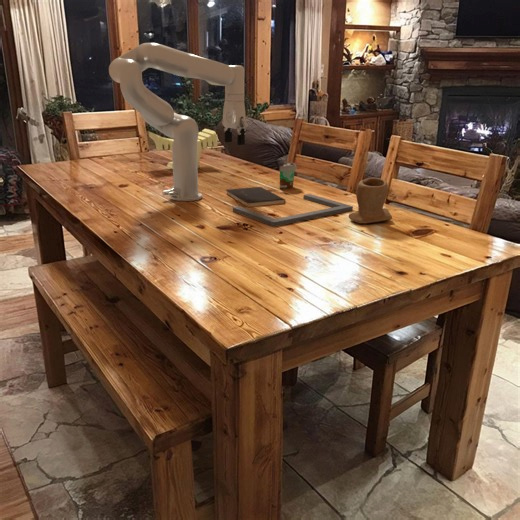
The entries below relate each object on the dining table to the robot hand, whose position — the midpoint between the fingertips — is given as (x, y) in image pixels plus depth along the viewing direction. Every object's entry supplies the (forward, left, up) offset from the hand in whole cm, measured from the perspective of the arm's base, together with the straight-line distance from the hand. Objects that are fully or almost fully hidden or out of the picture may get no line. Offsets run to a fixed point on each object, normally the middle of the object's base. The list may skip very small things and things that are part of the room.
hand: (234, 143), depth 226 cm
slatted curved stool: (+9, +59, -20) cm, 63 cm away
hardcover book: (0, -14, -21) cm, 25 cm away
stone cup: (+13, -64, -20) cm, 68 cm away
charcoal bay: (0, -38, -20) cm, 42 cm away
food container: (+24, -6, -20) cm, 32 cm away
